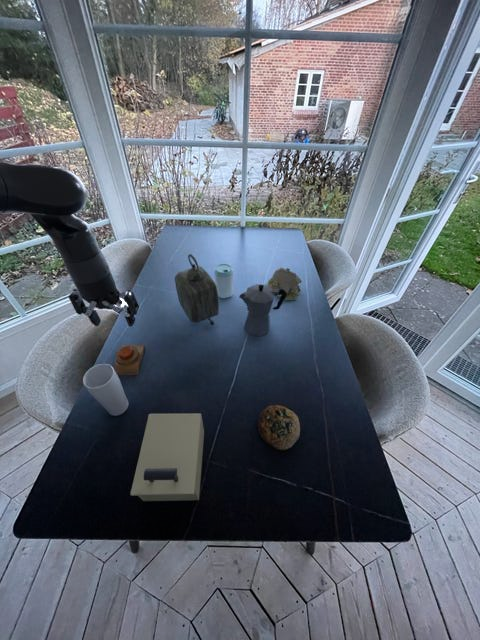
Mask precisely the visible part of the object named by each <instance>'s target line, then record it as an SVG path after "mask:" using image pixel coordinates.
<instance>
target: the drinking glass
mask: <svg viewBox="0 0 480 640" xmlns="http://www.w3.org/2000/svg"><path fill="white" fill-rule="evenodd" d="M113 367H114V366H112V365H111V364H108V363H99V364H95V365H93V366H92V367H90V368H89V369H88V370H87V371H86V372H85V373H84V375H83V377H82V384H83V386H84V387H85V390H86V391H87V392H88V393H89V394H90V396H91V397H92V398H93V399H95V401H96V402H97V403H98V404H100V406H102V408H104V409H105V410H106V412H107V413H108V414H109V415H110V416H114V417H117V416H121V415H122V414H124V413H125V412H126V411H127V410H128V408H129V405H130V404H129V399H128V398H127V396H126V392H125V390H124V388H123V385H122V382H121V379H120V378H119V377H120V376H119V375H117V373H116V372H115V370H114V369H113Z"/></svg>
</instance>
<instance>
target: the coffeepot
mask: <svg viewBox="0 0 480 640" xmlns="http://www.w3.org/2000/svg"><path fill="white" fill-rule="evenodd" d="M278 295H281V297H279V299H278V301H277V302H276V303H277V304H276V306H273V303H274V300H275V296H278ZM286 296H287V292H286V291H285V290H284V289H273V290H272V289H271V288H270V287H269V286H268V284H267V285H266V284H265V285H264V284H259V283H256V284H254V285H251V286H248V287H247V288H246V291H244V292H242V293H240V294H239V296H238V297H239V299H241V300H242V301H243V302H244V303H245V305H246V309H247V315H246V319H245V323H244V326H243V329H244V330H245V331H246V333H247V334H249V336H250V335H251V336H254V337H262V336H265V335H266V334H268V333H269V332H270V327H271V321H270V320H271V319H270V311H271V309H272V310H274V311H277V310H279V309H280V308H281V306H282V305H283V303H284V302H285V301H286V300H285V298H286ZM272 306H273V307H272Z"/></svg>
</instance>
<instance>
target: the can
mask: <svg viewBox="0 0 480 640" xmlns="http://www.w3.org/2000/svg"><path fill="white" fill-rule="evenodd" d="M213 278H214V279H213V281H214V283H215V285H216V288H217V293H218V298H220V299H228V298H230V297H232V296H233V294H234V270H233V269H232V266H231V265H230V264H227V263H219V264H217V265H216V266H215V268H214V270H213Z"/></svg>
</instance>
